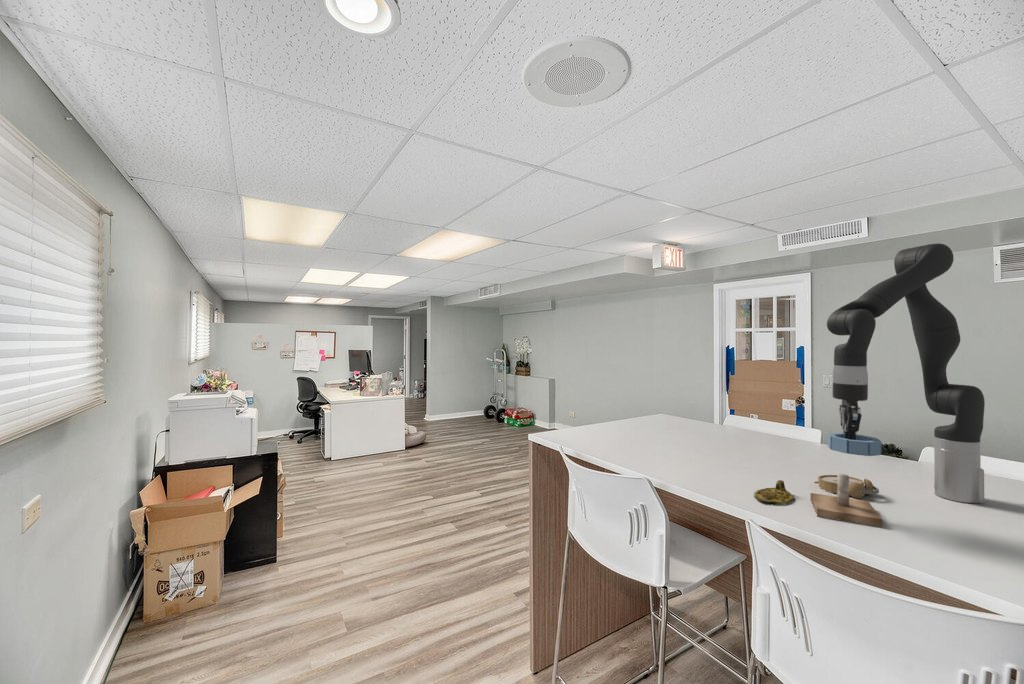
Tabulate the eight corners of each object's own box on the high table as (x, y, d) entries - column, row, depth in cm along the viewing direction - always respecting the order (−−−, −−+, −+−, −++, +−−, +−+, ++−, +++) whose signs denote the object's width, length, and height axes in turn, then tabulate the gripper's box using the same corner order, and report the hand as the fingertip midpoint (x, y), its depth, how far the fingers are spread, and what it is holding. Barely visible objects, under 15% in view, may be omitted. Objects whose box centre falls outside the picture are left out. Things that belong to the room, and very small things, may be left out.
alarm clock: (828, 472, 135) (884, 478, 122) (831, 488, 135) (888, 495, 121) (809, 478, 130) (865, 484, 117) (812, 494, 130) (869, 502, 116)
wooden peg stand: (868, 508, 113) (868, 472, 113) (881, 527, 102) (881, 486, 102) (810, 499, 120) (810, 465, 120) (817, 516, 108) (816, 478, 108)
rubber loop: (873, 448, 111) (873, 435, 111) (885, 457, 102) (885, 443, 102) (825, 443, 116) (825, 431, 116) (832, 452, 107) (832, 438, 107)
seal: (783, 514, 113) (799, 499, 123) (785, 497, 113) (801, 484, 123) (746, 500, 120) (764, 487, 130) (748, 485, 120) (766, 473, 130)
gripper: (874, 385, 105) (874, 452, 105) (860, 381, 117) (860, 441, 117) (838, 383, 109) (837, 448, 109) (828, 379, 121) (827, 438, 121)
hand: (849, 444), depth 113 cm, fingers closed on rubber loop, 1 cm apart
